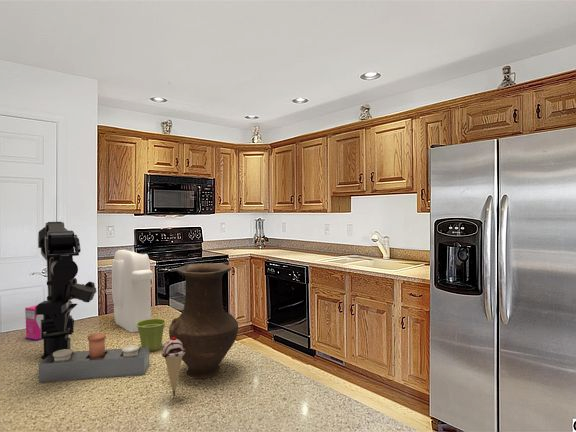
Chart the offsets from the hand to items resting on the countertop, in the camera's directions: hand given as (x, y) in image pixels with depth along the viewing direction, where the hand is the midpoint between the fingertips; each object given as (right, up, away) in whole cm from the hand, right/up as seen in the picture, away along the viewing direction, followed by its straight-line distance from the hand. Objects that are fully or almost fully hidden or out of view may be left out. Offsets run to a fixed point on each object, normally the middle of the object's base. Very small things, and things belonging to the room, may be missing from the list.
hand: (62, 331), depth 108 cm
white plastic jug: (0, -12, +45) cm, 47 cm away
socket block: (+9, -12, +2) cm, 15 cm away
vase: (+39, -12, +2) cm, 41 cm away
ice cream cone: (+35, -13, -13) cm, 39 cm away
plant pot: (+17, -12, +21) cm, 30 cm away
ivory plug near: (0, -12, 0) cm, 12 cm away
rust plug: (+9, -8, +2) cm, 12 cm away
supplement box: (-27, -12, +32) cm, 44 cm away
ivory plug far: (+18, -12, +4) cm, 22 cm away
